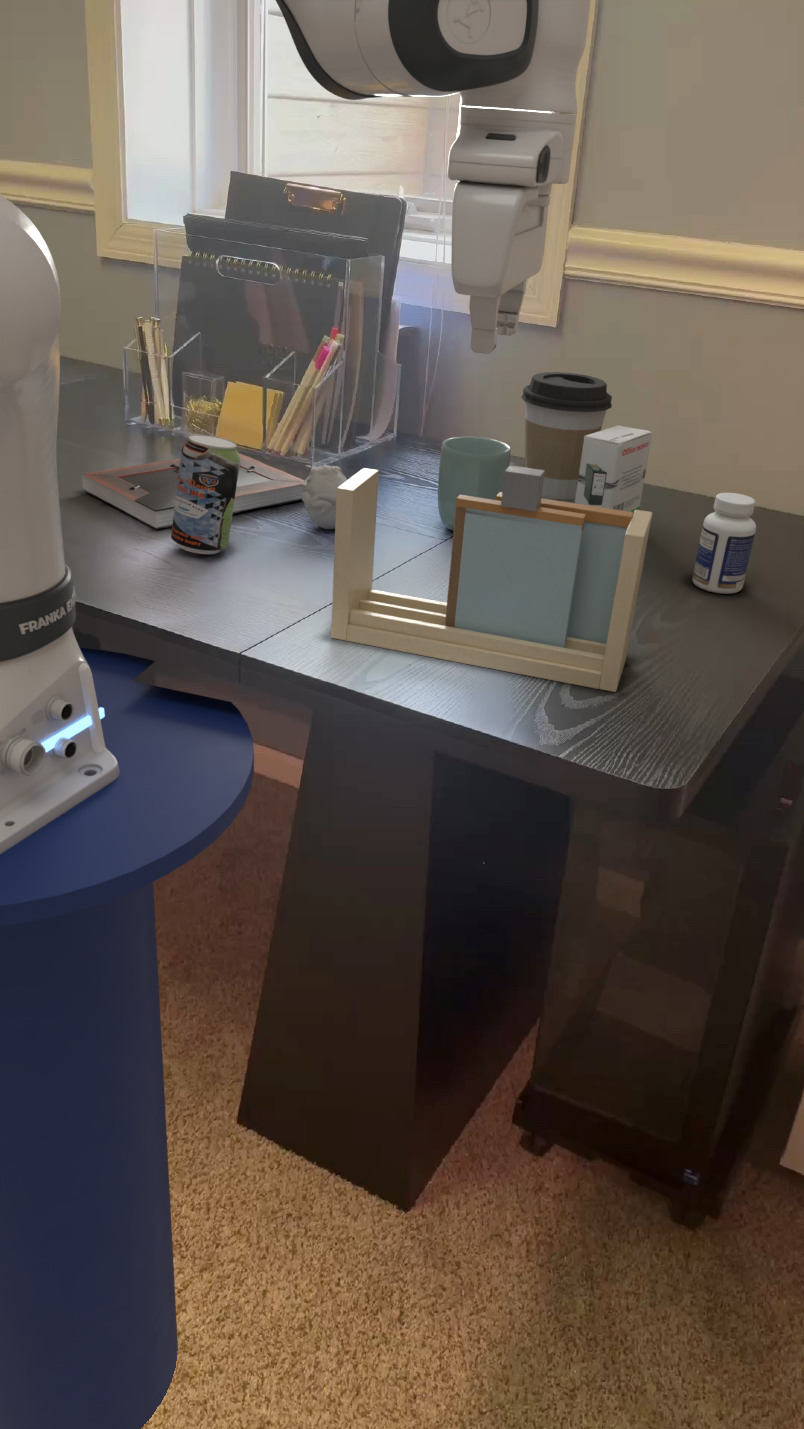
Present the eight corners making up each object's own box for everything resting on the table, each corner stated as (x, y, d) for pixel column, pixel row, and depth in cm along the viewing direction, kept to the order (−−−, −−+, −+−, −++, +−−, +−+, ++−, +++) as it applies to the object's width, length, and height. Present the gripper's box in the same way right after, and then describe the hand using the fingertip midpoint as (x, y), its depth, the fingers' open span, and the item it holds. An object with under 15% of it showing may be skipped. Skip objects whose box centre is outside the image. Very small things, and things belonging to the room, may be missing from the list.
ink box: (602, 517, 136) (618, 422, 130) (638, 527, 133) (655, 430, 128) (568, 532, 130) (582, 433, 124) (604, 543, 127) (621, 442, 122)
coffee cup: (613, 499, 143) (632, 383, 136) (566, 517, 135) (584, 394, 128) (541, 479, 149) (556, 366, 142) (492, 494, 141) (505, 376, 134)
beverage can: (161, 546, 117) (156, 434, 111) (219, 535, 121) (218, 427, 115) (191, 564, 113) (188, 449, 107) (251, 552, 117) (251, 441, 111)
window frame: (615, 692, 93) (644, 534, 86) (330, 638, 99) (336, 485, 92) (625, 660, 99) (653, 509, 92) (356, 610, 105) (363, 465, 98)
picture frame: (156, 531, 121) (309, 500, 134) (155, 510, 119) (310, 480, 133) (82, 492, 131) (232, 467, 144) (81, 472, 130) (231, 448, 143)
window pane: (561, 658, 95) (588, 483, 87) (442, 636, 97) (458, 464, 90) (565, 650, 96) (592, 477, 89) (448, 628, 99) (464, 458, 91)
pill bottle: (745, 583, 119) (765, 496, 114) (737, 599, 114) (758, 509, 110) (696, 572, 120) (714, 487, 116) (686, 588, 116) (704, 499, 111)
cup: (474, 545, 123) (483, 458, 119) (421, 527, 128) (428, 443, 123) (513, 531, 129) (524, 447, 124) (462, 514, 133) (470, 432, 128)
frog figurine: (339, 515, 130) (341, 457, 126) (364, 534, 124) (367, 474, 121) (291, 520, 127) (292, 461, 124) (315, 539, 122) (317, 478, 118)
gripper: (499, 151, 93) (483, 321, 99) (442, 152, 75) (427, 358, 82) (572, 156, 91) (551, 328, 98) (532, 159, 74) (509, 368, 81)
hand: (494, 342), depth 90 cm, fingers open, 8 cm apart
